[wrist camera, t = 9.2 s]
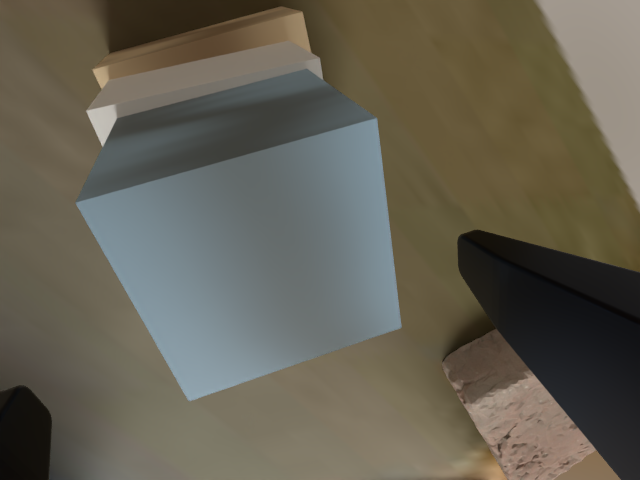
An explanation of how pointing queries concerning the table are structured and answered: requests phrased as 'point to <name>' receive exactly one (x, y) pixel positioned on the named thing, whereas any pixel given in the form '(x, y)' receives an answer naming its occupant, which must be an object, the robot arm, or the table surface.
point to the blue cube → (248, 227)
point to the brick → (514, 411)
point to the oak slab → (207, 43)
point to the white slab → (195, 81)
